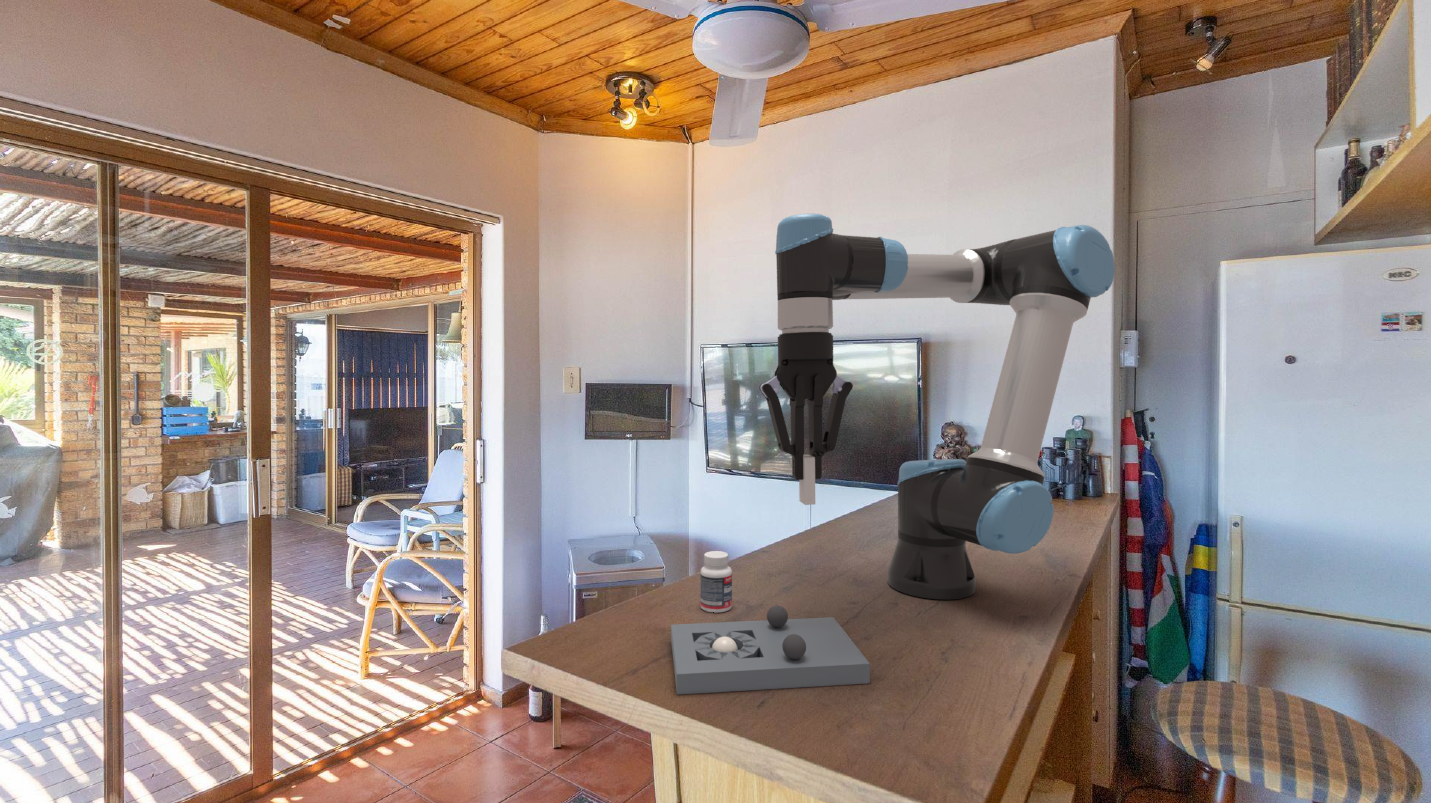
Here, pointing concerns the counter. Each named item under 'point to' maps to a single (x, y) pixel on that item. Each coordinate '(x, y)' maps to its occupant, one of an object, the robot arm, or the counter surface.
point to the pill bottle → (716, 583)
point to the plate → (764, 656)
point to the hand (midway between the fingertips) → (807, 502)
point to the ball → (724, 645)
